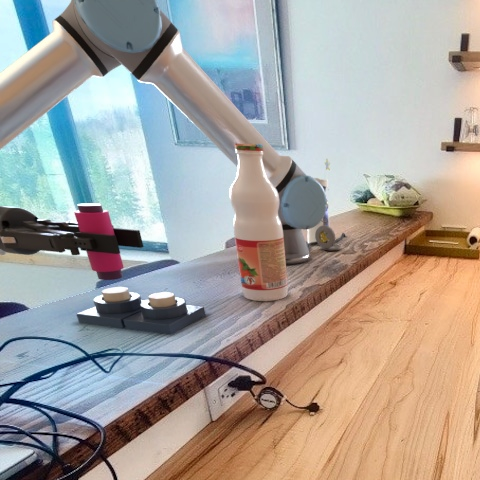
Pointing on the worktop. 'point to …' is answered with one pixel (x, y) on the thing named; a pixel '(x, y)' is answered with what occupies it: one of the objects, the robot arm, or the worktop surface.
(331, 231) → the pocket watch
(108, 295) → the eye pad
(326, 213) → the water bottle
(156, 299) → the eye pad
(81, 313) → the eye block
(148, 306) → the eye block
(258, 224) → the fruit juice
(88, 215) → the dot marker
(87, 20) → the robot arm
